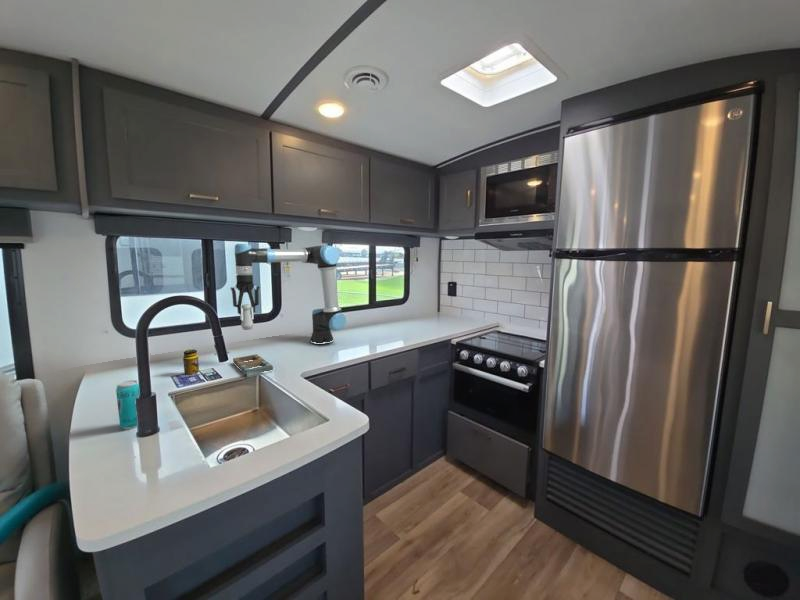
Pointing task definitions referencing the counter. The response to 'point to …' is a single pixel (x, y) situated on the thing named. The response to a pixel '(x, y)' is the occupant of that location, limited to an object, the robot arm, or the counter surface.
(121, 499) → the counter surface
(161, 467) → the counter surface
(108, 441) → the counter surface
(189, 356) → the condiment
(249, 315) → the salt shaker
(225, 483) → the counter surface
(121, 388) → the beverage can
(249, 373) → the grey rectangular tray
